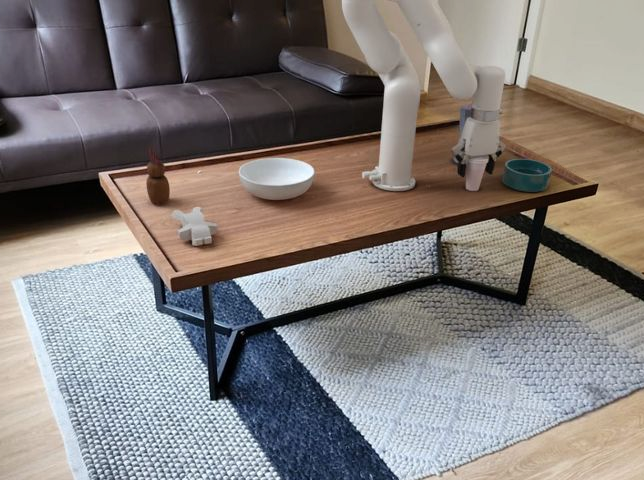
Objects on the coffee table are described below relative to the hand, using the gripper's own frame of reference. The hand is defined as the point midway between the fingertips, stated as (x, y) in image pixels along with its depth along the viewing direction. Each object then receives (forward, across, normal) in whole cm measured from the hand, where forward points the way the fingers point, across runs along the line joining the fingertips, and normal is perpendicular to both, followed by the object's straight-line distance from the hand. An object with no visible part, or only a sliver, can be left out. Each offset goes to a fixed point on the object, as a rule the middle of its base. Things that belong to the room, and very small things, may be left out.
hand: (474, 174), depth 185 cm
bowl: (+5, -17, +1) cm, 18 cm away
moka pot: (+5, -9, -19) cm, 21 cm away
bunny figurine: (+4, +82, +9) cm, 82 cm away
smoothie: (+5, 0, 0) cm, 5 cm away
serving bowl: (+4, +56, -10) cm, 57 cm away
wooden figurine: (+4, +88, -12) cm, 89 cm away
